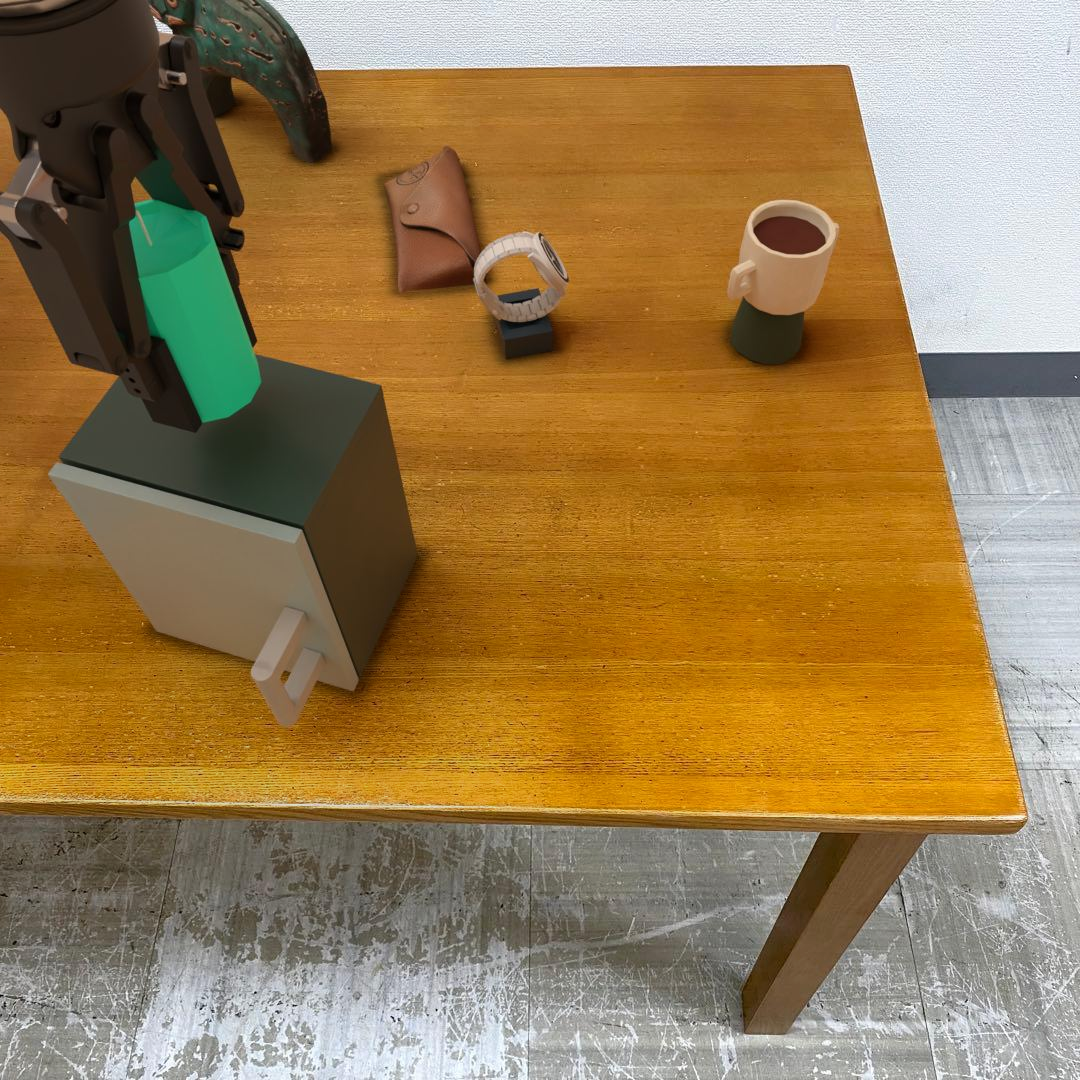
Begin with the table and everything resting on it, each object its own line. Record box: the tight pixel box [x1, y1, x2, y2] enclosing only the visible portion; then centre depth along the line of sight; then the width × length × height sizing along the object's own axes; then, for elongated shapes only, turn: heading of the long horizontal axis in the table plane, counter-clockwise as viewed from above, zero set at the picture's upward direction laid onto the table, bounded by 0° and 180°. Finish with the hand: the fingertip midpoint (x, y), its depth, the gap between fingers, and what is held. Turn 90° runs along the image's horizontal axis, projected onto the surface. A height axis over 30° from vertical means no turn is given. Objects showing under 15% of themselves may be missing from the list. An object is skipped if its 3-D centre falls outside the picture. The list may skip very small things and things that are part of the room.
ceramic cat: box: [148, 0, 333, 164], centre depth 102 cm, size 20×6×20 cm, turn 54°
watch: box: [473, 230, 570, 360], centre depth 87 cm, size 6×8×11 cm
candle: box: [129, 198, 261, 423], centre depth 53 cm, size 6×6×12 cm
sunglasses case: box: [383, 145, 486, 293], centre depth 99 cm, size 18×7×7 cm
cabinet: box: [58, 353, 419, 678], centre depth 69 cm, size 11×16×20 cm
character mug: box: [726, 199, 840, 366], centre depth 86 cm, size 11×7×13 cm, turn 121°
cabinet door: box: [47, 461, 360, 728], centre depth 65 cm, size 6×16×20 cm, turn 72°
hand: (206, 379), depth 58 cm, fingers closed on candle, 6 cm apart
